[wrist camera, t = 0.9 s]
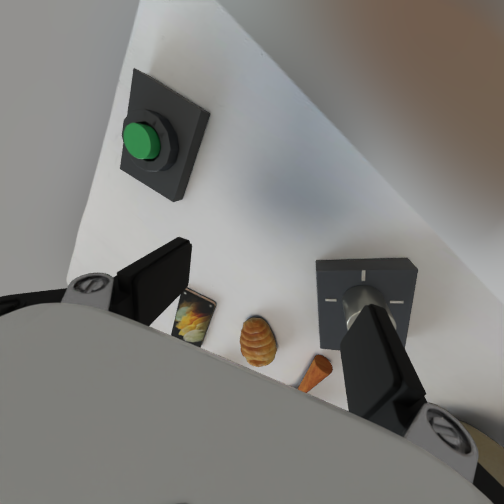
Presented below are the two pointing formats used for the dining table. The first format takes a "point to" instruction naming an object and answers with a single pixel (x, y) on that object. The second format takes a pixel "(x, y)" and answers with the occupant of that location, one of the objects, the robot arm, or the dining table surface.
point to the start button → (141, 141)
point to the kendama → (315, 373)
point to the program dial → (362, 302)
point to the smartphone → (192, 317)
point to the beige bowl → (488, 453)
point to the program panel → (369, 274)
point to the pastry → (257, 342)
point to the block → (164, 135)
